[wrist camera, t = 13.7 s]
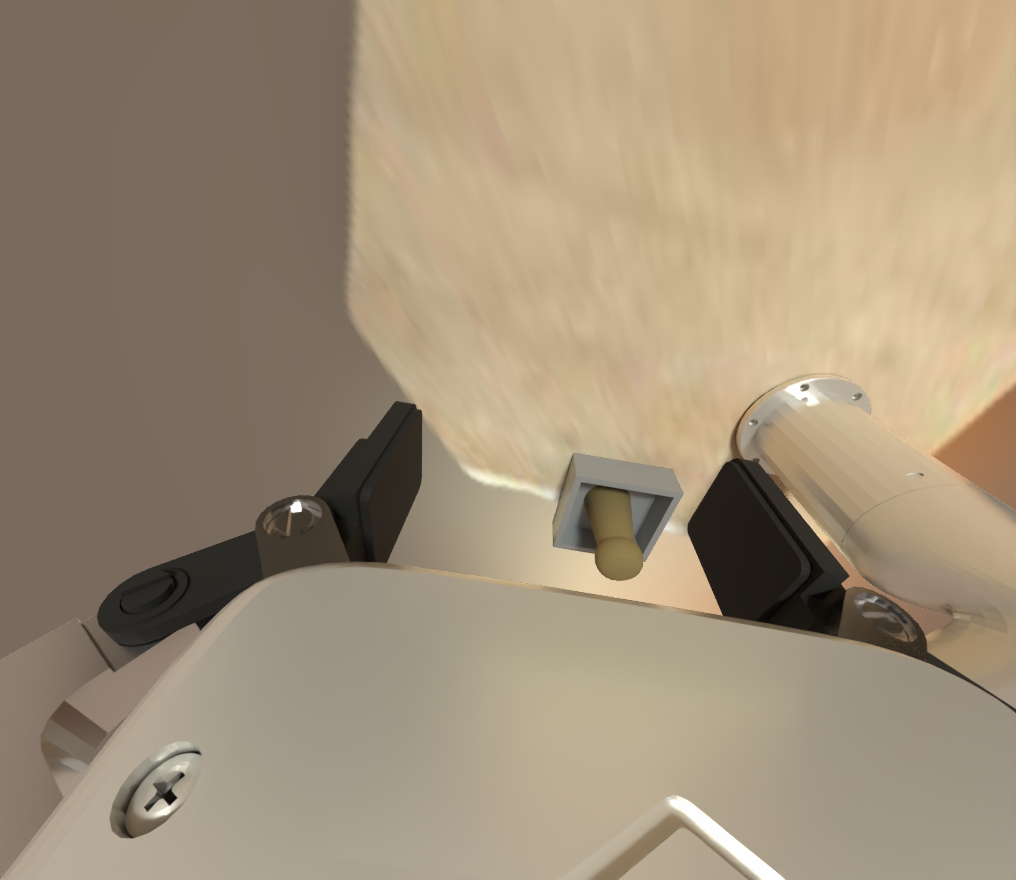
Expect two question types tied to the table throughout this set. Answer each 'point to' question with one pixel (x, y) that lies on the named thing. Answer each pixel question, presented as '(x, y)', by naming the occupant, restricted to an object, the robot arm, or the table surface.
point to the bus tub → (645, 484)
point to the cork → (613, 532)
